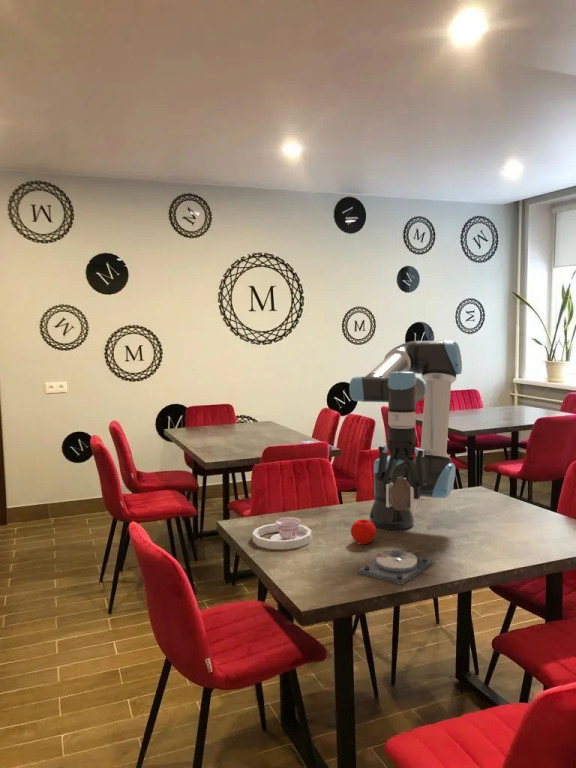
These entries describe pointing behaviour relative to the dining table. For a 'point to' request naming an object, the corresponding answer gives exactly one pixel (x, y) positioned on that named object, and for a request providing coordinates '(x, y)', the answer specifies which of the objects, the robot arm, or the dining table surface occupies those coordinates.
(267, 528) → the saucer ring
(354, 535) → the apple
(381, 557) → the duct flange
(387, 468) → the robot arm
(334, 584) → the dining table surface
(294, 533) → the teacup
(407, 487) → the vase
